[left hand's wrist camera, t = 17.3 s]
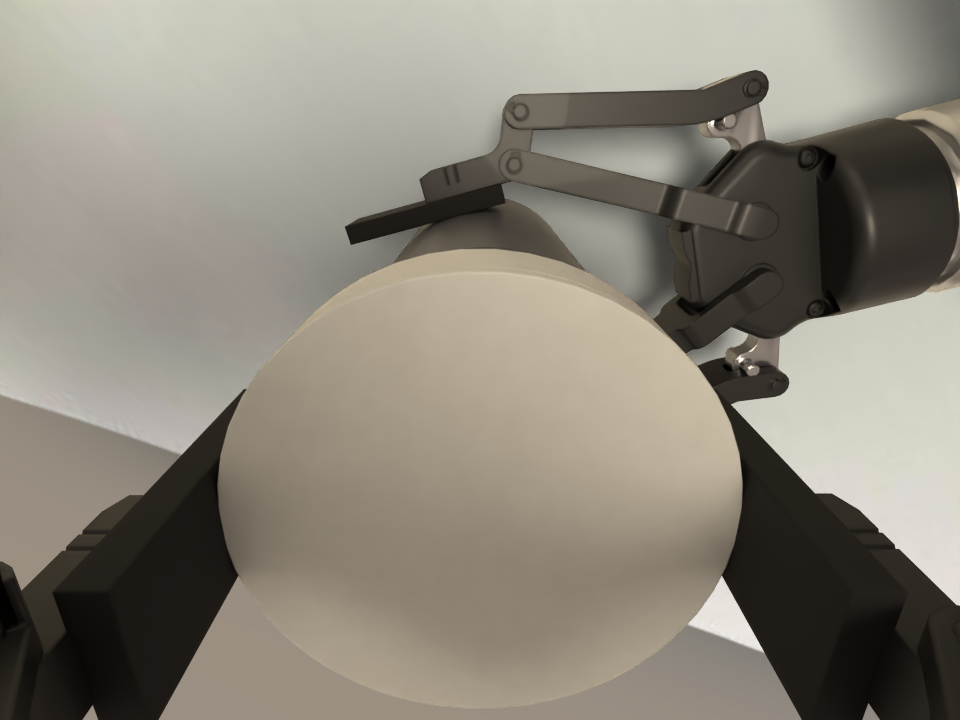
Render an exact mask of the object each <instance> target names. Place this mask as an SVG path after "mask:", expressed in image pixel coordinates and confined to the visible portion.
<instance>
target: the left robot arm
mask: <svg viewBox="0 0 960 720" xmlns="http://www.w3.org/2000/svg"><path fill="white" fill-rule="evenodd" d="M246 390H247V389H244V390H243V391H242V392H241V393H240V394H239V395H238V396H237V397H236V398H235V399H234V400H233V402H232V403H231V404H230V405H229V406H228V407H227V408H226V409H225V410H224V411H223V412H222V413H221V414H220V415H219V416H218V417H217V418H216V419H215V421H214V422H213V423H212V424H211V425H210V426H209V427H208V428H207V429H206V430H205V431H204V432H203V433H202V434H201V435H200V436H199V437H198V438H197V440H196V441H195V442H194V443H193V444H192V445H191V446H190V447H189V448H188V449H187V450H186V451H185V452H184V453H183V454H182V455H181V456H180V457H179V459H178V460H177V461H176V462H175V463H174V464H173V465H172V466H171V467H170V468H169V469H168V470H167V471H166V472H165V473H164V474H163V475H162V477H161V478H160V479H159V480H158V481H157V482H156V483H155V484H154V485H153V486H152V487H151V488H150V489H149V490H148V491H147V492H146V493H145V495H129V496H127V497H126V498H124V499H122V500H121V501H119V502H118V503H116V504H114V505H112V506H111V507H109V508H107V509H106V510H104V511H102V512H101V513H100V514H99V515H98V516H97V517H96V518H95V519H94V520H93V521H92V522H91V523H90V524H89V525H88V526H87V527H86V528H85V529H84V530H83V533H82V535H78V536H77V537H76V538H75V539H74V540H73V541H72V542H71V543H70V544H69V545H68V546H67V547H66V551H62V552H61V553H59V554H58V555H57V556H56V557H55V558H54V559H53V560H52V561H51V562H50V563H49V564H48V565H47V566H46V567H45V568H44V569H43V570H42V571H41V572H40V573H39V574H38V575H37V576H36V577H35V578H34V579H33V580H32V581H31V582H30V583H29V584H28V585H27V586H26V587H25V588H24V589H23V590H22V591H21V589H20V586H19V584H18V581H17V579H16V576H15V573H14V571H13V568H12V567H10V566H9V565H7V564H5V563H4V562H0V720H82V719H83V718H84V717H85V715H86V714H87V712H88V711H89V709H90V708H91V706H92V705H93V707H94V709H95V712H96V715H97V718H98V720H159V718H160V716H161V714H162V712H163V711H164V709H165V707H166V705H167V703H168V701H169V700H170V698H171V696H172V694H173V693H174V691H175V689H176V687H177V685H178V684H179V682H180V680H181V678H182V676H183V675H184V673H185V671H186V669H187V667H188V666H189V664H190V662H191V660H192V658H193V657H194V655H195V653H196V651H197V649H198V647H199V646H200V644H201V642H202V640H203V638H204V637H205V635H206V633H207V631H208V629H209V628H210V626H211V624H212V622H213V620H214V619H215V617H216V615H217V613H218V611H219V610H220V608H221V606H222V604H223V602H224V600H225V599H226V597H227V595H228V593H229V592H230V590H231V588H232V586H233V584H234V582H235V581H236V579H237V577H238V573H237V572H236V570H235V568H234V565H233V562H232V560H231V557H230V554H229V552H228V549H227V545H226V541H225V536H224V531H223V527H222V522H221V517H220V512H219V506H218V489H217V484H218V474H219V465H220V455H221V452H222V448H223V444H224V441H225V437H226V433H227V430H228V426H229V424H230V422H231V419H232V417H233V415H234V413H235V411H236V408H237V406H238V404H239V402H240V400H241V397H242V396H243V394H244V393H245V391H246ZM714 391H715V392H716V394H717V395H718V398H719V400H720V402H721V404H722V406H723V408H724V410H725V412H726V414H727V417H728V419H729V421H730V423H731V426H732V430H733V433H734V436H735V440H736V443H737V447H738V450H739V455H740V463H741V472H742V480H743V490H742V509H741V514H740V519H739V524H738V529H737V534H736V539H735V543H734V547H733V550H732V553H731V555H730V558H729V561H728V564H727V566H726V568H725V570H724V572H723V574H722V577H723V578H724V580H725V582H726V584H727V586H728V587H729V589H730V591H731V593H732V595H733V596H734V598H735V600H736V602H737V604H738V605H739V607H740V609H741V611H742V613H743V614H744V616H745V618H746V620H747V622H748V623H749V625H750V627H751V629H752V631H753V632H754V634H755V636H756V638H757V640H758V641H759V643H760V645H761V647H762V649H763V650H764V652H765V654H766V656H767V658H768V660H769V661H770V663H771V665H772V667H773V668H774V670H775V672H776V674H777V676H778V677H779V679H780V681H781V683H782V685H783V687H784V688H785V690H786V692H787V694H788V696H789V697H790V699H791V701H792V703H793V705H794V706H795V708H796V710H797V712H798V713H799V715H800V717H801V719H802V720H862V719H863V716H864V713H865V711H866V708H867V705H868V703H869V704H870V706H871V707H872V709H873V710H874V712H875V713H876V715H877V716H878V717H879V719H880V720H960V606H958V605H956V604H955V603H954V602H953V601H952V600H951V599H950V598H949V597H948V596H947V595H946V594H945V593H944V592H942V591H941V590H940V589H939V588H938V587H937V586H936V585H935V584H934V583H933V582H932V581H931V580H930V579H929V578H928V577H927V576H926V575H925V574H924V573H923V572H922V571H921V570H920V569H919V568H918V567H917V566H916V565H915V564H914V563H913V562H912V561H911V560H910V559H909V558H908V557H907V556H906V555H905V554H904V553H903V552H902V551H901V550H899V549H895V545H894V544H893V543H892V542H891V541H890V540H889V539H888V538H887V537H886V536H885V535H884V534H883V533H879V531H878V528H877V527H876V526H875V525H874V524H873V523H872V522H871V521H870V520H869V519H868V518H867V517H866V516H865V515H864V514H863V513H862V512H861V511H860V510H858V509H857V508H855V507H853V506H852V505H850V504H848V503H847V502H845V501H843V500H842V499H840V498H838V497H837V496H835V495H833V494H815V493H814V492H813V491H812V490H811V489H810V488H809V487H808V486H807V485H806V484H805V482H804V481H803V480H802V479H801V478H800V477H799V476H798V475H797V474H796V473H795V472H794V471H793V470H792V469H791V468H790V467H789V466H788V464H787V463H786V462H785V461H784V460H783V459H782V458H781V457H780V456H779V455H778V454H777V453H776V452H775V451H774V450H773V449H772V448H771V447H770V445H769V444H768V443H767V442H766V441H765V440H764V439H763V438H762V437H761V436H760V435H759V434H758V433H757V432H756V431H755V430H754V429H753V428H752V426H751V425H750V424H749V423H748V422H747V421H746V420H745V419H744V418H743V417H742V416H741V415H740V414H739V413H738V412H737V411H736V410H735V409H734V407H733V406H732V405H731V404H730V403H729V402H728V401H727V400H726V399H725V398H724V397H723V396H722V395H721V394H720V393H719V392H718V391H717V390H716V389H714Z"/></svg>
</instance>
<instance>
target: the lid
mask: <svg viewBox="0 0 960 720" xmlns="http://www.w3.org/2000/svg"><path fill="white" fill-rule="evenodd" d="M217 489H218V506H219V512H220V517H221V522H222V527H223V531H224V536H225V541H226V545H227V549H228V552H229V554H230V557H231V560H232V562H233V565H234V568H235V570H236V572H237V573H238V575H239V577H240V579H241V581H242V583H243V584H244V586H245V588H246V590H247V592H248V593H249V595H250V596H251V597H252V599H253V600H254V601H255V603H256V604H257V605H258V607H259V608H260V610H261V611H262V612H263V614H264V615H265V616H266V617H267V618H268V619H269V620H270V621H271V623H272V624H273V625H274V626H275V627H276V628H277V629H278V630H279V631H280V632H281V633H282V634H283V635H284V636H285V637H286V638H288V639H289V640H290V641H291V642H292V643H293V644H295V645H296V646H297V647H298V648H300V649H301V650H302V651H303V652H304V653H306V654H307V655H308V656H310V657H312V658H313V659H315V660H316V661H318V662H319V663H321V664H322V665H324V666H325V667H327V668H328V669H330V670H332V671H334V672H336V673H338V674H340V675H342V676H344V677H346V678H347V679H349V680H351V681H353V682H355V683H358V684H361V685H363V686H366V687H368V688H371V689H373V690H376V691H378V692H381V693H384V694H387V695H391V696H395V697H398V698H402V699H405V700H409V701H414V702H419V703H425V704H430V705H435V706H444V707H455V708H467V709H469V708H470V709H473V708H505V707H516V706H525V705H531V704H536V703H541V702H546V701H551V700H556V699H559V698H562V697H566V696H569V695H573V694H576V693H580V692H582V691H585V690H587V689H590V688H592V687H595V686H597V685H600V684H602V683H605V682H607V681H609V680H611V679H613V678H615V677H617V676H619V675H621V674H622V673H625V672H626V671H628V670H630V669H632V668H634V667H635V666H637V665H638V664H640V663H641V662H643V661H644V660H646V659H647V658H649V657H650V656H652V655H653V654H655V653H656V652H657V651H659V650H660V649H661V648H662V647H663V646H665V645H666V644H667V643H668V642H669V641H670V640H672V639H673V638H674V637H675V636H676V635H678V634H679V632H680V631H681V630H682V629H683V628H684V627H685V626H686V625H687V624H688V623H689V622H690V621H691V620H692V619H693V617H694V616H695V615H696V614H697V613H698V612H699V610H700V609H701V607H702V606H703V605H704V603H705V602H706V601H707V599H708V598H709V596H710V595H711V594H712V592H713V591H714V589H715V587H716V585H717V583H718V581H719V579H720V578H721V576H722V574H723V572H724V570H725V568H726V566H727V564H728V561H729V558H730V555H731V553H732V550H733V547H734V543H735V539H736V534H737V529H738V524H739V519H740V514H741V509H742V490H743V480H742V472H741V463H740V455H739V450H738V447H737V443H736V440H735V436H734V433H733V430H732V426H731V423H730V421H729V419H728V417H727V414H726V412H725V410H724V408H723V406H722V404H721V402H720V400H719V398H718V395H717V394H716V392H715V391H714V389H713V388H712V387H711V385H710V384H709V382H708V381H707V379H706V378H705V376H704V375H703V373H702V372H701V370H700V369H699V368H698V366H697V365H696V364H695V363H694V362H693V361H692V360H691V359H690V358H689V357H688V356H687V355H686V354H685V353H684V352H683V350H682V349H681V348H680V347H679V346H678V345H677V344H676V343H675V342H674V341H673V340H672V339H671V338H670V337H669V336H668V335H667V334H666V333H665V332H664V331H663V329H662V328H661V327H660V326H659V325H658V324H657V323H656V322H655V321H654V320H653V319H652V318H651V317H650V316H649V315H648V314H647V313H646V312H645V311H644V310H643V309H642V308H641V307H640V306H638V305H637V304H636V303H634V302H633V301H632V300H631V299H629V298H628V297H627V296H626V295H624V294H623V293H622V292H621V291H619V290H618V289H616V288H614V287H613V286H611V285H609V284H608V283H606V282H604V281H602V280H601V279H599V278H597V277H596V276H594V275H592V274H590V273H588V272H585V271H583V270H580V269H578V268H575V267H573V266H571V265H568V264H566V263H563V262H561V261H557V260H553V259H549V258H546V257H542V256H538V255H534V254H530V253H524V252H516V251H508V250H500V249H459V250H452V251H444V252H437V253H430V254H425V255H422V256H418V257H415V258H411V259H407V260H404V261H400V262H396V263H394V264H392V265H389V266H387V267H385V268H382V269H380V270H378V271H375V272H373V273H371V274H368V275H366V276H364V277H363V278H361V279H359V280H358V281H356V282H354V283H353V284H351V285H349V286H348V287H346V288H344V289H343V290H341V291H339V292H338V293H337V294H336V295H334V296H333V297H332V298H331V299H329V300H328V301H327V302H326V303H325V304H323V305H322V306H321V307H320V308H318V309H317V310H316V311H315V312H314V313H313V314H312V315H311V316H310V317H309V318H308V319H307V320H306V321H305V322H304V323H303V324H302V325H301V326H300V327H299V328H298V329H297V330H296V331H295V332H294V333H293V335H292V336H291V337H290V338H289V339H288V340H287V341H286V342H285V343H284V344H283V345H282V346H281V347H280V348H279V349H278V350H277V351H276V353H275V354H274V355H273V356H272V357H271V358H270V359H269V360H268V361H267V362H266V364H265V365H264V366H263V367H262V368H261V369H260V370H259V372H258V373H257V375H256V376H255V378H254V379H253V381H252V382H251V384H250V385H249V387H248V388H247V390H246V391H245V393H244V394H243V396H242V397H241V400H240V402H239V404H238V406H237V408H236V411H235V413H234V415H233V417H232V419H231V422H230V424H229V426H228V430H227V433H226V437H225V441H224V444H223V448H222V452H221V455H220V465H219V474H218V484H217Z"/></svg>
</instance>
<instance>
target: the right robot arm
mask: <svg viewBox="0 0 960 720" xmlns="http://www.w3.org/2000/svg"><path fill="white" fill-rule="evenodd" d="M768 89H769V81H768V79H767V77H766V75H765V74H764V73H763V72H761V71H757V70H754V71H749V72H745V73H742V74H738V75H735V76H731V77H727V78H724V79H721V80H719V81H716V82H714V83H711V84H709V85H706V86H704V87H702V88H699V89H697V90H669V91H628V92H586V93H545V94H519V95H514V96H513V97H511V98H510V99H509V100H508V102H507V103H506V105H505V107H504V109H503V114H502V125H501V135H500V141H499V144H498V146H497V147H496V149H495V150H494V151H492V152H491V153H490V154H487V155H484V156H481V157H477V158H473V159H470V160H466V161H463V162H459V163H456V164H452V165H448V166H445V167H441V168H438V169H434V170H432V171H430V172H428V173H427V174H426V175H425V176H423V177H422V178H421V179H420V183H421V187H422V190H423V194H424V197H425V201H421V202H418V203H414V204H410V205H407V206H403V207H399V208H396V209H392V210H388V211H385V212H381V213H377V214H374V215H370V216H367V217H363V218H359V219H357V220H356V221H354V222H352V223H350V224H349V225H347V226H345V229H346V232H347V235H348V238H349V240H350V243H351V245H352V244H356V243H360V242H364V241H367V240H371V239H375V238H378V237H382V236H386V235H390V234H393V233H397V232H401V231H404V230H408V229H412V228H415V227H419V226H423V225H427V224H430V223H434V222H438V221H441V220H445V219H449V218H453V217H456V216H460V215H464V214H467V213H471V212H475V211H479V210H482V209H486V208H490V207H493V206H497V205H501V204H504V203H505V199H504V194H503V190H502V186H501V184H503V183H507V182H511V181H514V182H518V183H523V184H527V185H531V186H535V187H540V188H544V189H548V190H553V191H557V192H561V193H565V194H570V195H574V196H578V197H583V198H587V199H591V200H595V201H600V202H604V203H608V204H613V205H617V206H621V207H625V208H630V209H634V210H638V211H642V212H647V213H651V214H655V215H659V216H663V217H667V218H670V219H672V221H671V225H669V226H667V231H668V238H669V244H670V246H671V248H672V250H673V252H674V255H675V257H676V264H675V271H674V281H675V288H676V292H677V293H678V295H677V296H675V297H674V298H673V299H672V300H670V301H669V302H668V303H667V304H665V305H664V306H663V308H662V309H661V312H660V314H659V315H658V316H657V317H655V318H654V319H653V320H654V321H655V322H656V323H657V324H658V325H659V326H660V327H661V328H662V329H663V331H664V332H665V333H666V334H667V335H668V336H669V337H670V338H671V339H672V340H673V341H674V342H675V343H676V344H677V345H678V346H679V347H680V348H681V349H682V350H683V352H684V353H685V354H686V353H687V352H689V351H690V350H693V349H700V348H702V347H704V346H706V345H707V344H709V343H710V342H712V341H713V340H714V339H716V338H717V337H718V336H720V335H721V334H722V333H724V332H725V331H726V330H728V329H729V328H730V327H733V328H735V329H738V330H740V331H743V332H745V333H748V337H747V339H746V341H745V342H744V343H742V344H741V345H739V346H737V347H731V348H729V349H727V351H726V353H725V354H726V356H725V357H724V358H719V359H715V360H711V361H708V362H706V363H703V364H701V365H698V368H699V369H700V370H701V372H702V373H703V375H704V376H705V378H706V379H707V381H708V382H709V384H710V385H711V387H712V388H713V389H716V390H717V391H718V392H719V393H720V394H721V395H722V396H723V397H724V398H725V399H726V400H727V401H728V402H729V403H730V404H733V403H735V402H737V401H745V400H753V399H761V398H769V397H776V396H779V395H781V394H783V393H784V392H785V391H786V390H787V388H788V386H789V379H788V377H787V376H786V375H785V374H784V373H783V372H781V371H780V370H779V369H778V360H779V340H780V337H781V336H783V335H785V334H786V333H788V332H789V331H790V330H791V329H793V328H794V327H796V326H797V325H799V324H800V323H802V322H804V321H806V320H809V319H814V318H820V317H828V316H834V315H840V314H844V313H849V312H853V311H857V310H861V309H865V308H869V307H874V306H878V305H882V304H886V303H890V302H895V301H899V300H903V299H907V298H911V297H915V296H917V295H920V294H922V293H923V292H939V291H943V290H947V289H951V288H955V287H959V286H960V99H956V100H952V101H948V102H944V103H941V104H937V105H933V106H929V107H925V108H921V109H917V110H913V111H910V112H906V113H903V114H901V115H899V116H898V117H896V118H894V119H893V118H884V119H878V120H874V121H870V122H866V123H863V124H859V125H855V126H851V127H848V128H844V129H840V130H837V131H833V132H829V133H825V134H822V135H818V136H814V137H810V138H807V139H803V140H799V141H795V142H792V143H787V144H781V143H777V142H774V141H770V140H766V139H765V133H764V128H763V123H762V118H761V112H760V107H759V102H761V101H762V100H763V99H764V97H765V96H766V94H767V91H768ZM693 124H698V126H699V129H700V132H701V133H702V134H703V135H704V136H705V137H707V138H724V139H726V140H727V141H728V142H729V143H730V145H731V148H732V149H731V150H730V151H729V152H728V153H727V154H726V155H725V156H724V157H723V158H722V159H721V160H720V162H719V163H718V164H717V165H716V166H715V167H714V168H713V169H712V170H711V171H710V172H709V174H708V175H707V176H706V177H705V178H704V179H703V180H702V181H701V182H700V183H699V184H698V185H697V187H696V188H695V189H694V190H689V189H685V188H680V187H676V186H672V185H667V184H663V183H659V182H655V181H651V180H646V179H642V178H638V177H634V176H630V175H625V174H621V173H617V172H613V171H609V170H604V169H600V168H596V167H592V166H588V165H583V164H579V163H575V162H571V161H567V160H562V159H558V158H554V157H550V156H546V155H541V154H537V153H533V152H530V150H531V141H532V133H533V130H556V129H599V128H642V127H673V126H684V125H693Z"/></svg>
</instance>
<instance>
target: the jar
mask: <svg viewBox="0 0 960 720" xmlns="http://www.w3.org/2000/svg"><path fill="white" fill-rule="evenodd" d="M459 249H500V250H508V251H516V252H524V253H530V254H534V255H538V256H542V257H546V258H549V259H553V260H557V261H561V262H563V263H566V264H568V265H571V266H573V267H575V268H578V269H580V270H583V271H585V270H584V268H583V267H582V266H581V265H580V264H579V262H578V261H577V260H576V259H575V257H574V256H573V255H572V254H571V252H570V251H569V250H568V249H567V247H566V246H565V245H564V244H563V242H562V241H561V240H560V239H559V238H558V236H557V235H556V234H555V233H554V231H553V230H552V229H551V228H550V226H549V225H548V224H547V223H546V222H545V221H544V220H543V219H542V218H541V217H540V216H539V215H538V214H536V213H535V212H533V211H532V210H530V209H529V208H527V207H525V206H523V205H521V204H519V203H517V202H514V201H511V200H508V199H505V203H504V204H501V205H497V206H493V207H490V208H486V209H482V210H479V211H475V212H471V213H467V214H464V215H460V216H456V217H453V218H449V219H445V220H441V221H438V222H434V223H430V224H427V225H423V226H422V227H421V228H420V229H419V231H418V232H417V233H416V235H415V236H414V237H413V238H412V240H411V241H410V242H409V244H408V245H407V246H406V248H405V249H404V250H403V251H402V253H401V254H400V255H399V257H398V258H397V259H396V260H395V262H394V263H396V262H400V261H404V260H407V259H411V258H415V257H418V256H422V255H425V254H430V253H437V252H444V251H452V250H459ZM394 263H393V264H394ZM585 272H586V271H585Z"/></svg>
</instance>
